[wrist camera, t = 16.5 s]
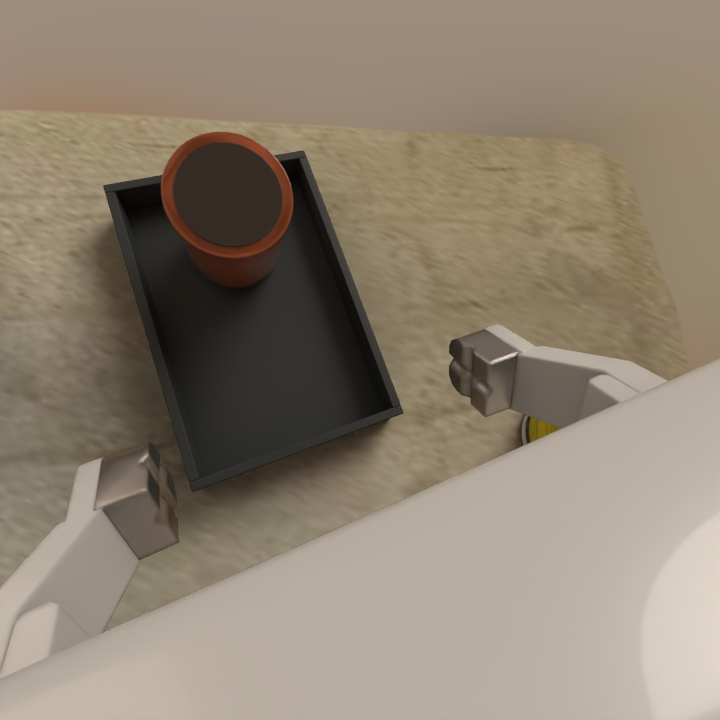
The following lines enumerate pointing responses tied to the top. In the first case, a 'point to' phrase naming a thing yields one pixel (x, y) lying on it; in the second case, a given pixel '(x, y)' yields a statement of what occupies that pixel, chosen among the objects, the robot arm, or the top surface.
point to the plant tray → (253, 337)
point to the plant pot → (228, 206)
